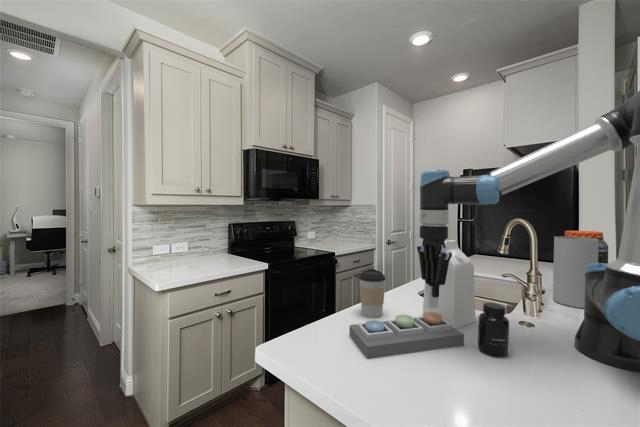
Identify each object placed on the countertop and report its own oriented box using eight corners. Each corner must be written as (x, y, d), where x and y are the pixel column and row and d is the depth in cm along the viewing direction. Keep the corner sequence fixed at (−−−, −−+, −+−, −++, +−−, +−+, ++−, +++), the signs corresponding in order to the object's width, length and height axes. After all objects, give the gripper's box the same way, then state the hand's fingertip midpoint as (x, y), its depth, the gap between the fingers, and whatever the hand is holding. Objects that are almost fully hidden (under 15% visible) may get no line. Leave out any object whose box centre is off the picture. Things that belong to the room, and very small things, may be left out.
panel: (463, 345, 78) (464, 328, 78) (367, 358, 71) (367, 340, 71) (433, 325, 90) (434, 311, 90) (349, 335, 84) (349, 320, 84)
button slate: (387, 332, 77) (387, 327, 77) (370, 335, 75) (370, 328, 75) (379, 325, 81) (379, 319, 81) (362, 327, 80) (362, 321, 80)
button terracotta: (446, 323, 81) (446, 317, 81) (430, 325, 80) (430, 319, 80) (435, 316, 86) (435, 311, 86) (420, 318, 85) (420, 312, 84)
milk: (443, 309, 104) (444, 238, 103) (475, 320, 94) (476, 241, 93) (422, 317, 97) (423, 240, 96) (454, 329, 88) (455, 244, 87)
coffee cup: (385, 320, 95) (385, 274, 94) (357, 318, 96) (357, 273, 96) (384, 310, 103) (385, 268, 103) (359, 308, 105) (359, 267, 105)
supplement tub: (601, 288, 129) (603, 231, 128) (613, 298, 116) (614, 234, 115) (556, 283, 137) (557, 229, 137) (562, 291, 124) (563, 232, 123)
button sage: (417, 326, 79) (417, 320, 79) (401, 328, 78) (401, 322, 78) (407, 319, 84) (407, 314, 84) (392, 321, 82) (392, 315, 82)
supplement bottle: (498, 360, 70) (499, 312, 70) (472, 348, 76) (472, 303, 76) (514, 354, 73) (515, 307, 73) (488, 342, 79) (488, 299, 79)
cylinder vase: (549, 303, 110) (551, 238, 109) (555, 296, 119) (557, 235, 118) (594, 312, 101) (596, 241, 100) (598, 303, 109) (599, 238, 109)
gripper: (409, 223, 87) (408, 300, 88) (436, 227, 75) (435, 316, 75) (431, 223, 89) (430, 298, 90) (461, 226, 76) (459, 314, 77)
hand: (432, 306), depth 83 cm, fingers closed
